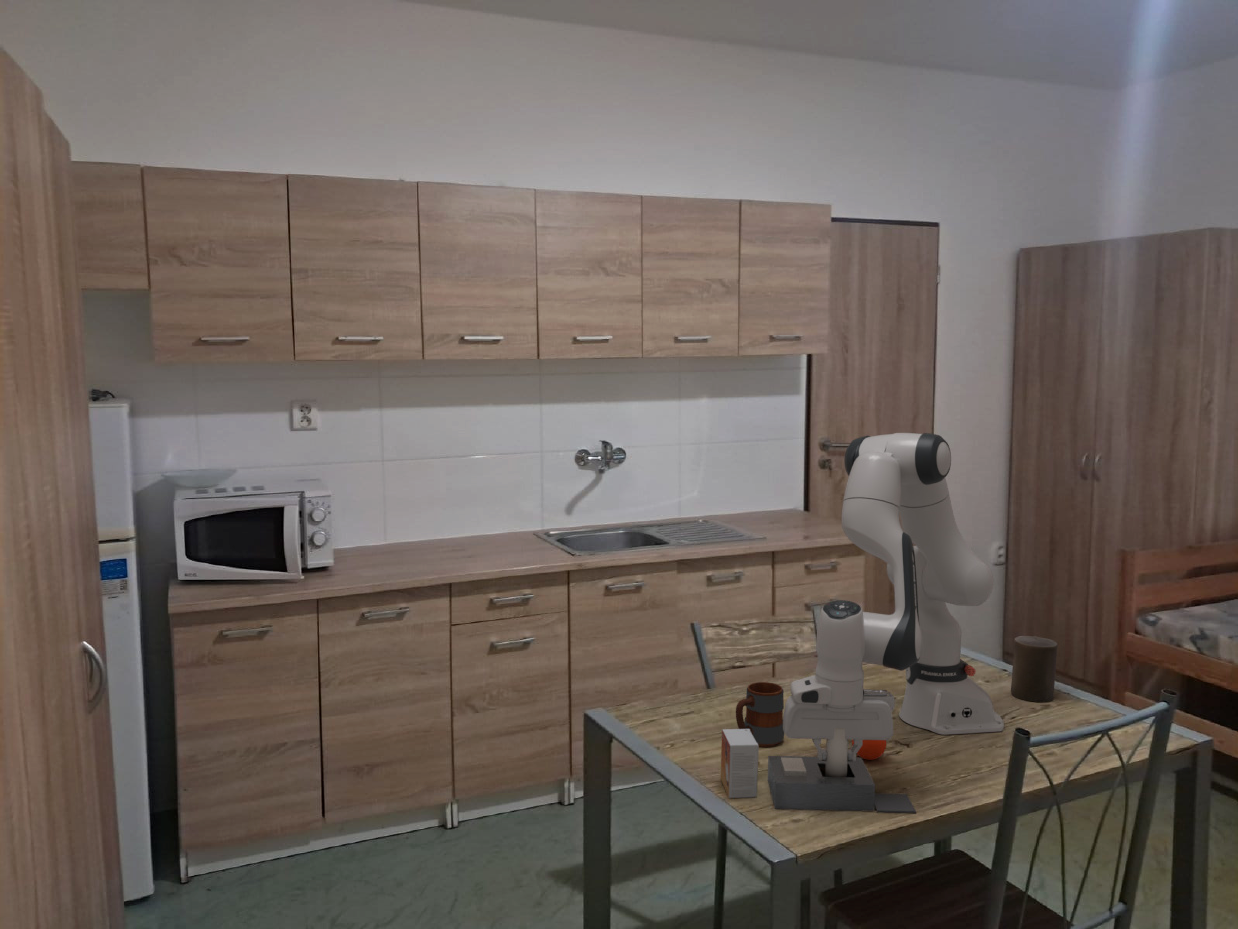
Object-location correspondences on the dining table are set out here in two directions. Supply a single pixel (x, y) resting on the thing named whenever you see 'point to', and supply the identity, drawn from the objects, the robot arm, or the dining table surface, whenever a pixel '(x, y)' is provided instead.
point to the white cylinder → (837, 755)
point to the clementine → (871, 749)
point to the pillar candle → (1034, 669)
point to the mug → (763, 713)
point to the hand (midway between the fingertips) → (836, 760)
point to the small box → (739, 763)
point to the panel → (819, 785)
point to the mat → (893, 803)
